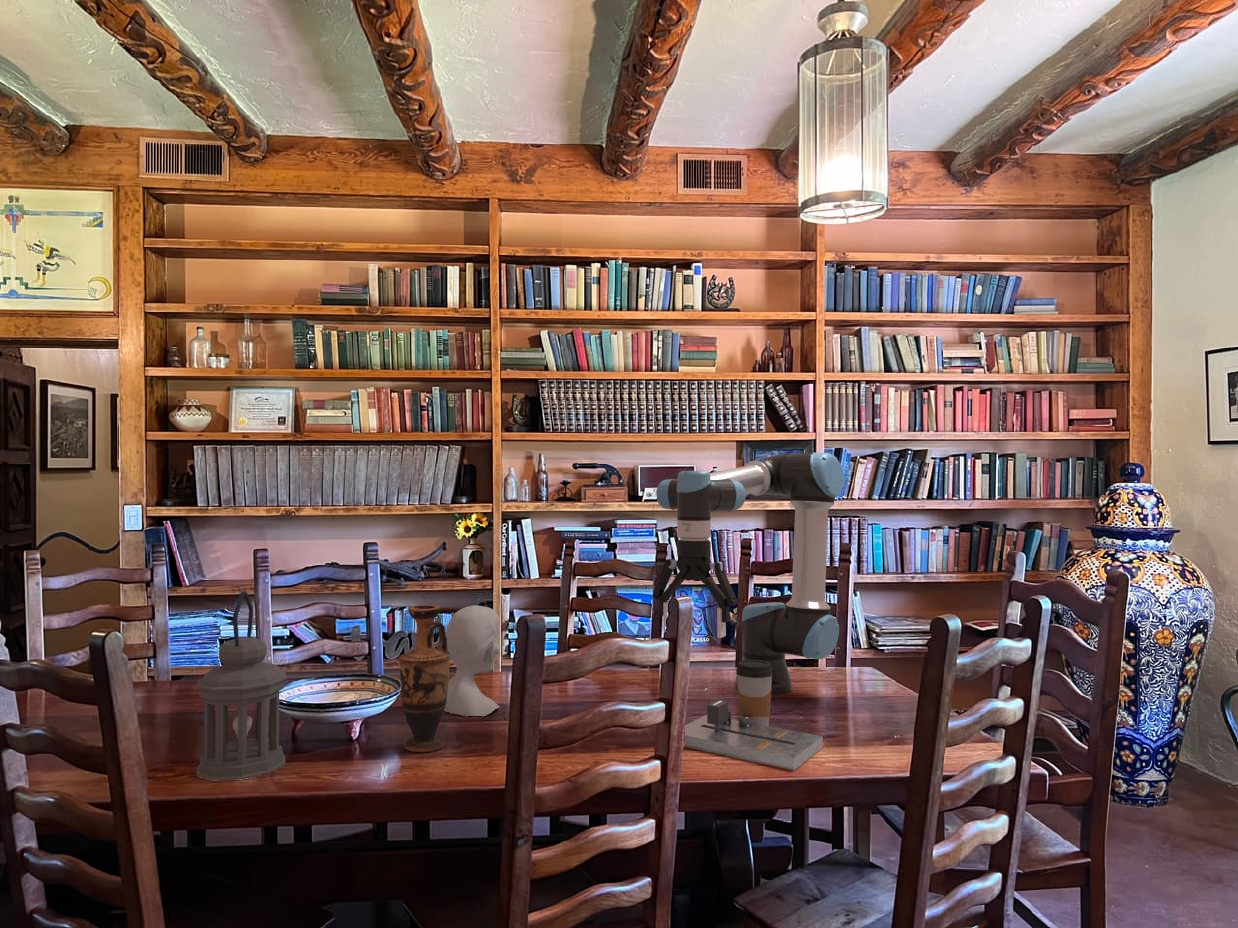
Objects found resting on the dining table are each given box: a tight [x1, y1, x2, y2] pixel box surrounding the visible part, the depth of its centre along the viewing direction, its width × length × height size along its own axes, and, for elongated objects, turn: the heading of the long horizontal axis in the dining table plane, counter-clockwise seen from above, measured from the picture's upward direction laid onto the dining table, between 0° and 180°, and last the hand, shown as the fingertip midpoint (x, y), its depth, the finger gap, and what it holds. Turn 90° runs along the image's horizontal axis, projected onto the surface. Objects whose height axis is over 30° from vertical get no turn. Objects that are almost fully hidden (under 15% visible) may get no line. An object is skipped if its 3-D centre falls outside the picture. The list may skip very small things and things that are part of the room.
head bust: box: [444, 605, 501, 717], centre depth 205 cm, size 22×19×25 cm
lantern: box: [196, 590, 288, 780], centre depth 161 cm, size 17×17×35 cm
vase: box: [398, 604, 451, 754], centre depth 172 cm, size 11×11×30 cm
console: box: [684, 711, 824, 771], centre depth 173 cm, size 16×28×4 cm, turn 56°
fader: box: [706, 700, 729, 731], centre depth 177 cm, size 4×3×7 cm, turn 146°
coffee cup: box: [735, 660, 773, 726], centre depth 185 cm, size 8×8×15 cm
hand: (694, 633), depth 180 cm, fingers open, 13 cm apart
